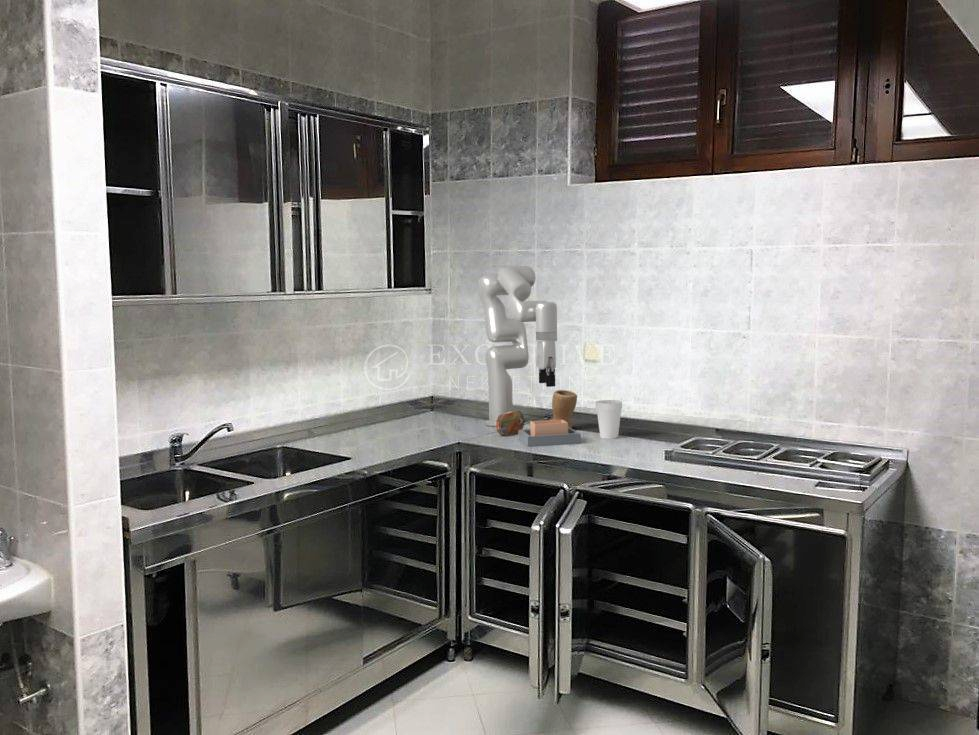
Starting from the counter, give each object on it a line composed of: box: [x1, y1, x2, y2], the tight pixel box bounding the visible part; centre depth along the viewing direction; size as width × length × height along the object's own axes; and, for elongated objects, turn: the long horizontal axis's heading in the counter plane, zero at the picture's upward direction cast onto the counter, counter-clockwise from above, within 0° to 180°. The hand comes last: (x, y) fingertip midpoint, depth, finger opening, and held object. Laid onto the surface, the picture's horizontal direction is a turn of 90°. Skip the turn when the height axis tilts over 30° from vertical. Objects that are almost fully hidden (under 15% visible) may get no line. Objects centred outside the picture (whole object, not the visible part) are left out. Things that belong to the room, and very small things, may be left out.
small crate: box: [529, 419, 568, 436], centre depth 310 cm, size 6×12×6 cm, turn 102°
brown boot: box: [550, 389, 578, 428], centre depth 335 cm, size 15×12×15 cm
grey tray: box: [517, 427, 582, 448], centre depth 310 cm, size 14×19×4 cm
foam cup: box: [595, 399, 623, 440], centre depth 315 cm, size 10×9×13 cm
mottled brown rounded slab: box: [495, 410, 525, 437], centre depth 327 cm, size 15×3×8 cm, turn 143°
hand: (547, 384), depth 309 cm, fingers open, 9 cm apart
